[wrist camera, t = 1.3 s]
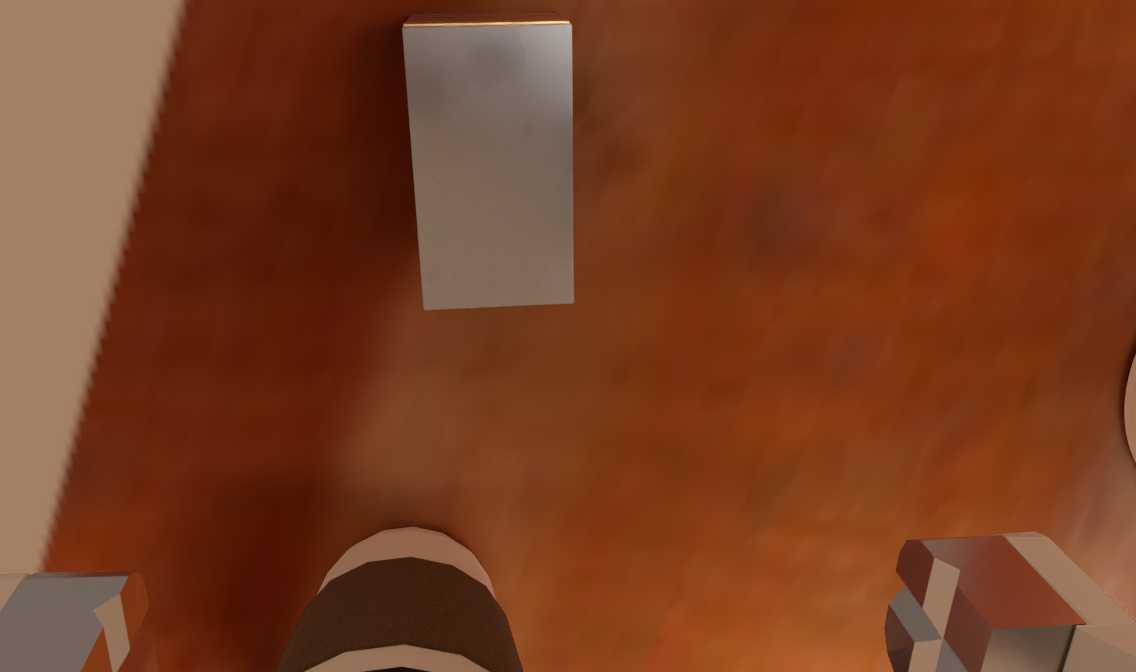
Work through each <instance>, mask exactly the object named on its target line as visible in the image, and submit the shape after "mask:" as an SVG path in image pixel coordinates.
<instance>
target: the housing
mask: <svg viewBox="0 0 1136 672" xmlns="http://www.w3.org/2000/svg"><path fill="white" fill-rule="evenodd" d="M402 31H403V44H404V58H405V71H406V84H407V97H408V110H409V124H410V137H411V150H412V163H413V176H414V190H415V203H416V216H417V229H418V242H419V256H420V269H421V282H422V295H423V308H424V310H442V309H463V308H484V307H505V306H525V305H546V304H567V303H574V230H573V100H572V24H570V23H569V20H568V19H564V18H562V17H561V16H560V15H558V14H557V13H556V12H555V11H534V12H479V13H423V14H411V15H410V16H409V18H408V20H407V21H406V22H404V24H403V28H402Z"/></svg>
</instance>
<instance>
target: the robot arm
mask: <svg viewBox="0 0 1136 672" xmlns="http://www.w3.org/2000/svg"><path fill="white" fill-rule="evenodd" d="M1124 417H1125V429H1126V435H1127V440H1128V444H1129V447H1130V450H1131V453H1132V455H1133V458H1134V460H1135V462H1136V355H1135V357H1134V360H1133V363H1132V366H1131V370H1130V373H1129V378H1128V382H1127V387H1126V395H1125V407H1124ZM896 572H897V574H898V575H899V577H900V578H901V580H902V582H903V583H904V585H905V587H904V588H903V589H902V590H901V591H900V592H899V593H898V594H897V595H896V597H895V598H894V599H893V600H892V601H891V602H890V603H889V605H888V611H887V617H886V623H885V636H886V644H887V653H888V656H889V659H890V662H891V664H892V667H893V670H894V672H1136V622H1135V621H1134V620H1133V619H1132V618H1131V617H1130V616H1129V615H1128V614H1127V613H1126V612H1125V611H1124V610H1123V609H1122V608H1121V607H1120V606H1119V605H1118V604H1117V603H1116V602H1115V601H1114V600H1113V599H1111V598H1110V597H1109V596H1108V595H1107V594H1106V593H1105V592H1104V591H1103V590H1102V589H1101V588H1100V587H1099V586H1098V585H1097V584H1096V583H1095V582H1094V581H1093V580H1092V579H1091V578H1090V577H1089V576H1088V575H1087V574H1086V573H1085V572H1084V571H1083V570H1082V569H1081V568H1080V567H1079V566H1077V565H1076V564H1075V563H1074V562H1073V561H1072V560H1071V559H1070V558H1069V557H1068V556H1067V555H1066V554H1065V553H1064V552H1063V551H1062V550H1061V549H1060V548H1059V547H1058V546H1057V545H1056V544H1055V543H1054V542H1053V541H1052V540H1051V539H1050V538H1049V537H1047V536H1045V535H1043V534H1040V533H1038V532H1035V531H1030V532H1016V533H1002V534H992V535H991V536H974V537H954V538H935V539H915V540H907V541H906V543H905V545H904V546H903V548H902V549H901V551H900V554H899V559H898V563H897V567H896ZM148 607H149V601H148V596H147V591H146V586H145V581H144V578H143V577H142V576H141V575H140V574H139V573H138V572H137V571H112V572H65V573H34V574H32V575H31V574H27V573H24V574H2V575H1V574H0V672H158V657H157V650H156V643H155V640H154V639H153V638H151V637H150V636H149V635H148V634H147V633H146V632H145V631H144V630H143V629H141V628H140V626H141V623H142V621H143V619H144V616H145V614H146V612H147V609H148Z"/></svg>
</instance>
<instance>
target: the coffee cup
mask: <svg viewBox="0 0 1136 672" xmlns="http://www.w3.org/2000/svg"><path fill="white" fill-rule="evenodd" d="M274 672H523V669H522V666H521V662H520V659H519V656H518V653H517V649H516V646H515V643H514V640H513V636H512V633H511V630H510V627H509V623H508V620H507V617H506V614H505V613H504V611H503V610H502V608H501V607H500V605H499V604H498V603H497V600H496V597H495V594H494V590H493V587H492V584H491V581H490V578H489V576H488V575H487V573H486V572H485V570H484V569H483V567H482V566H481V564H480V563H479V562H478V560H477V559H476V557H475V556H474V554H473V553H472V552H470V551H469V550H468V549H467V548H466V547H464V546H463V545H461V544H460V543H458V542H456V541H455V540H453V539H452V538H450V537H448V536H447V535H445V534H444V533H441V532H437V531H432V530H427V529H422V528H418V527H406V528H398V529H389V530H383V531H381V532H379V533H377V534H375V535H373V536H371V537H369V538H367V539H365V540H363V541H361V542H358V543H357V544H355V545H354V546H352V547H351V548H349V549H348V550H347V551H346V552H345V554H344V555H343V556H342V557H341V558H340V559H339V560H338V561H337V562H336V564H335V565H334V566H333V567H332V568H331V569H330V570H329V571H328V573H327V575H326V577H325V579H324V581H323V583H322V585H321V587H320V589H319V592H318V594H317V596H316V597H315V598H314V599H313V600H312V601H311V602H310V603H309V604H308V606H307V607H306V608H305V609H304V611H303V613H302V616H301V618H300V620H299V622H298V624H297V626H296V628H295V630H294V632H293V634H292V636H291V638H290V640H289V642H288V644H287V646H286V648H285V650H284V652H283V654H282V657H281V659H280V661H279V663H278V665H277V667H276V669H275V671H274Z"/></svg>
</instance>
